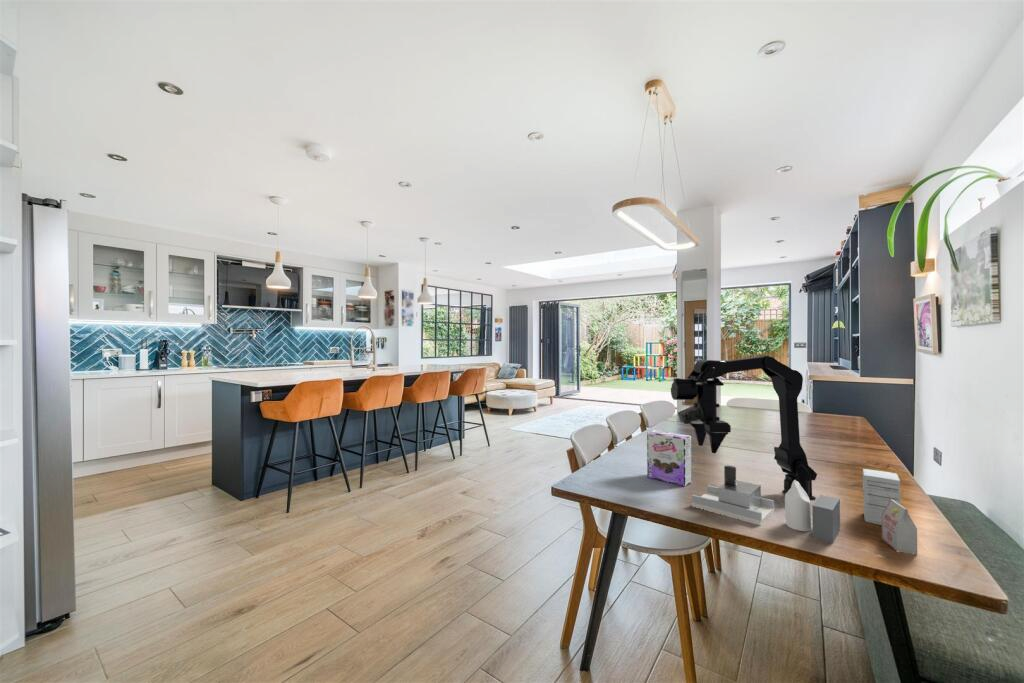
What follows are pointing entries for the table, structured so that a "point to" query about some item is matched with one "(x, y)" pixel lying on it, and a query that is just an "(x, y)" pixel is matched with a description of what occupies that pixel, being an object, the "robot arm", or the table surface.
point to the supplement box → (879, 493)
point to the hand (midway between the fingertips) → (706, 449)
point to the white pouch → (797, 508)
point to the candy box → (669, 457)
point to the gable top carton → (899, 528)
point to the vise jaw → (738, 491)
